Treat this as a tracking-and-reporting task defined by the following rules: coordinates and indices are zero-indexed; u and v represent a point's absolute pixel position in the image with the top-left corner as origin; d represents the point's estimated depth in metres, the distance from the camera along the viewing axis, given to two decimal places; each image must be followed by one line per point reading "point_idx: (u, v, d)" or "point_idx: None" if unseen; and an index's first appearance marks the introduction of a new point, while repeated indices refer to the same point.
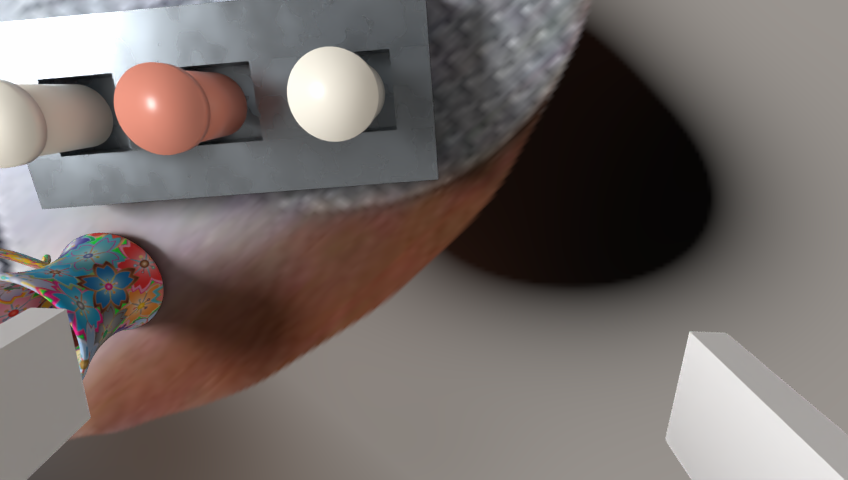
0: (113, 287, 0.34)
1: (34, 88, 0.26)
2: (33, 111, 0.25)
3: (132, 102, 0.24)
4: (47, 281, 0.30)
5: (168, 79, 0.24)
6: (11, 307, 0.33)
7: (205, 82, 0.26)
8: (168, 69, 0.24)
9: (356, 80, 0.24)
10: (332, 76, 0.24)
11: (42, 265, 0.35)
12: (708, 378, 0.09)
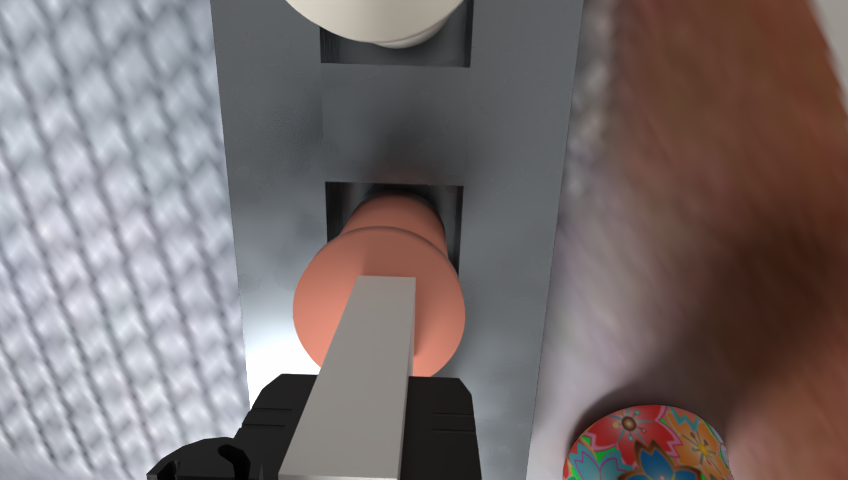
0: None
1: None
2: None
3: None
4: None
5: (324, 285, 0.12)
6: None
7: (346, 232, 0.15)
8: (306, 280, 0.12)
9: None
10: None
11: None
12: None
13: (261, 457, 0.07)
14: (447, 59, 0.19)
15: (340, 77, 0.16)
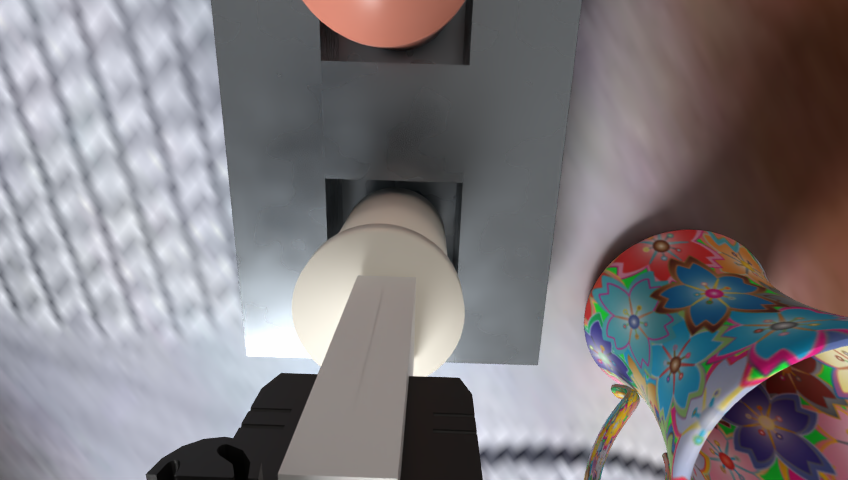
0: (716, 287, 0.18)
1: None
2: (361, 230, 0.12)
3: None
4: (715, 370, 0.14)
5: None
6: (715, 460, 0.17)
7: None
8: None
9: None
10: None
11: (633, 396, 0.20)
12: None
13: (261, 457, 0.07)
14: None
15: None
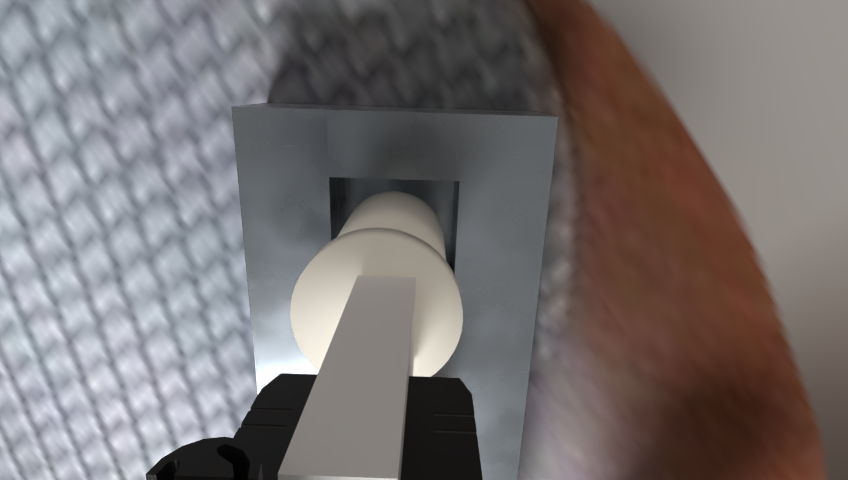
0: None
1: None
2: None
3: None
4: None
5: None
6: None
7: None
8: None
9: (352, 272, 0.12)
10: (341, 314, 0.13)
11: None
12: None
13: (260, 457, 0.07)
14: None
15: None
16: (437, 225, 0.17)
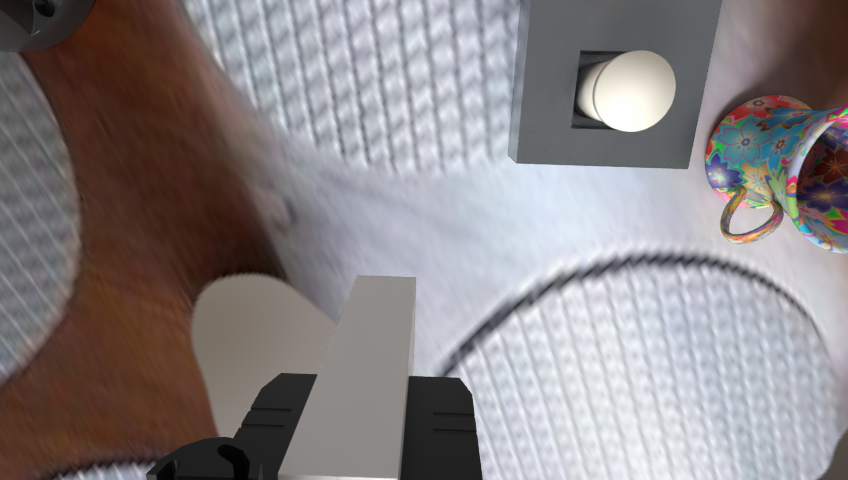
0: (798, 112, 0.31)
1: (597, 72, 0.30)
2: (632, 51, 0.28)
3: None
4: (808, 128, 0.27)
5: None
6: (798, 209, 0.31)
7: None
8: None
9: None
10: None
11: (743, 190, 0.34)
12: None
13: (260, 457, 0.07)
14: None
15: None
16: None
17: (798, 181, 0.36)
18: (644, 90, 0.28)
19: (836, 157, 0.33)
